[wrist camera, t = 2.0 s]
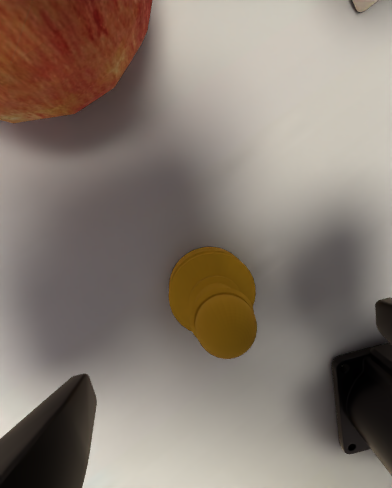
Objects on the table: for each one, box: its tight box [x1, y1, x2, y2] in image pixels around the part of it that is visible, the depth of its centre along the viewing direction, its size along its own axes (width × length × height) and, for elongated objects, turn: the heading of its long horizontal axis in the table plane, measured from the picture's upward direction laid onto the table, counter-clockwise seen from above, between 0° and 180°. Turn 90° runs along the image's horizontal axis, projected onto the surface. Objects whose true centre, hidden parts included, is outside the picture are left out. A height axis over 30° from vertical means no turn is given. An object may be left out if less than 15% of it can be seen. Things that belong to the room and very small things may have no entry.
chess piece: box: [169, 247, 257, 359], centre depth 11 cm, size 4×4×5 cm
